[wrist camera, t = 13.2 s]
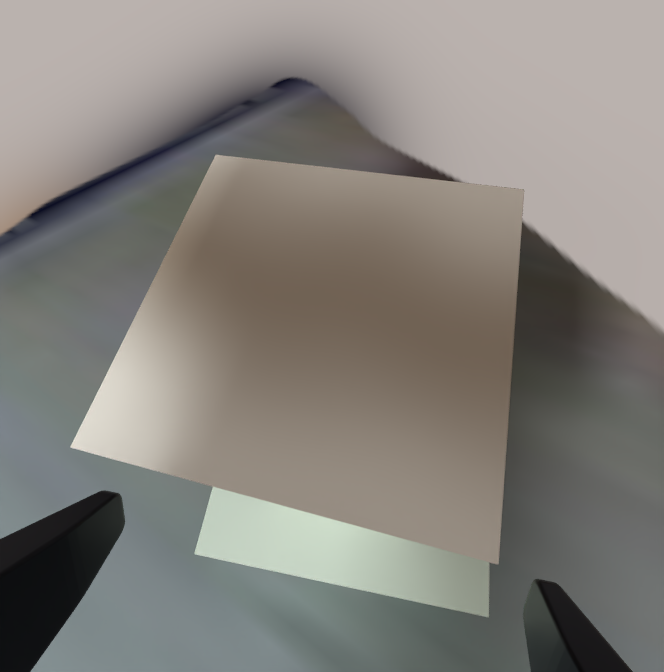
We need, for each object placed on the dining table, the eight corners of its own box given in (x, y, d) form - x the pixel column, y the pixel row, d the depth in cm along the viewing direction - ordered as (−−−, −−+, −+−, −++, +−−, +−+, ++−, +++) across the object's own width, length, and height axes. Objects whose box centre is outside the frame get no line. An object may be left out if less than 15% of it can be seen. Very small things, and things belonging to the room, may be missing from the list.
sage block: (465, 599, 19) (488, 617, 15) (225, 548, 20) (194, 554, 17) (472, 363, 24) (491, 334, 20) (277, 338, 25) (262, 308, 22)
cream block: (406, 532, 16) (499, 564, 5) (270, 495, 18) (70, 446, 6) (427, 395, 19) (523, 189, 7) (306, 370, 20) (215, 154, 8)
